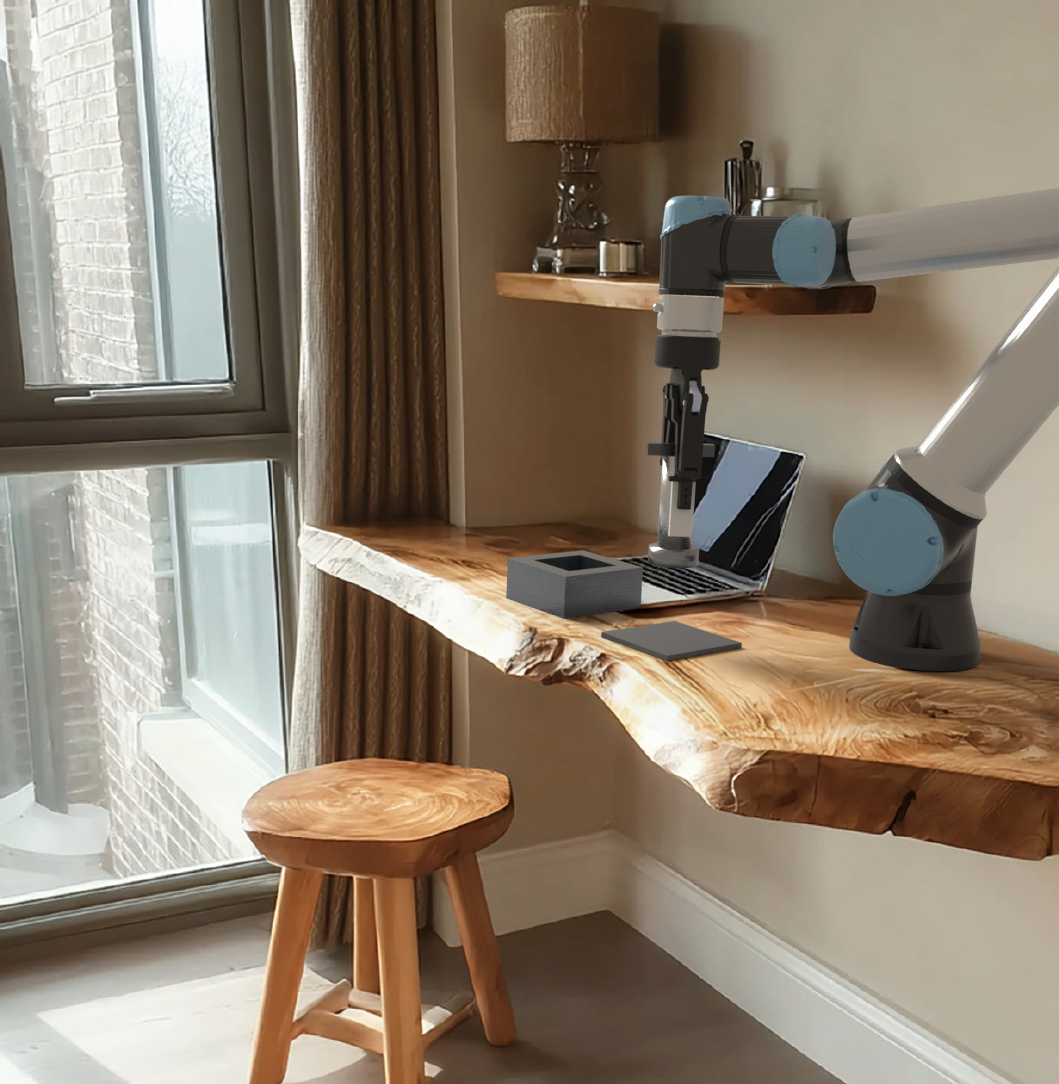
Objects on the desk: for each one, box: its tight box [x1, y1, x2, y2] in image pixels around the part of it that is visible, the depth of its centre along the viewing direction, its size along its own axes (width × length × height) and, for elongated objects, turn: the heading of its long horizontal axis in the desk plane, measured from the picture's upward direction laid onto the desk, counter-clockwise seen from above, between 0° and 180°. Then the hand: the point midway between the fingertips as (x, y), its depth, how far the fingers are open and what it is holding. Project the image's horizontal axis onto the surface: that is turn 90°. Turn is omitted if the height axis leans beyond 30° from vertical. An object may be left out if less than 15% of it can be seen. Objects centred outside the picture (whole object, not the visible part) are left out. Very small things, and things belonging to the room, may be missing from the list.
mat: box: [600, 620, 743, 662], centre depth 157 cm, size 12×12×1 cm
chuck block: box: [505, 549, 644, 619], centre depth 175 cm, size 13×13×6 cm
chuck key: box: [645, 441, 716, 570], centre depth 154 cm, size 8×6×14 cm
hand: (675, 531), depth 154 cm, fingers closed on chuck key, 4 cm apart
